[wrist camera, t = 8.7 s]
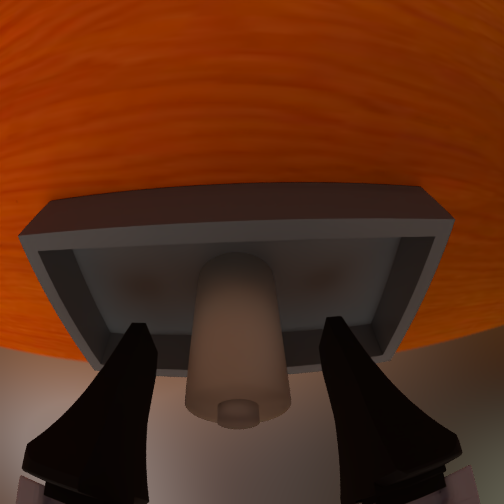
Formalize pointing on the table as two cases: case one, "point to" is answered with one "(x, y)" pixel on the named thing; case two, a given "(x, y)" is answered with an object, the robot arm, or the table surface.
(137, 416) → the robot arm
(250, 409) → the cell
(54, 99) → the table surface
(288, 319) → the trough
